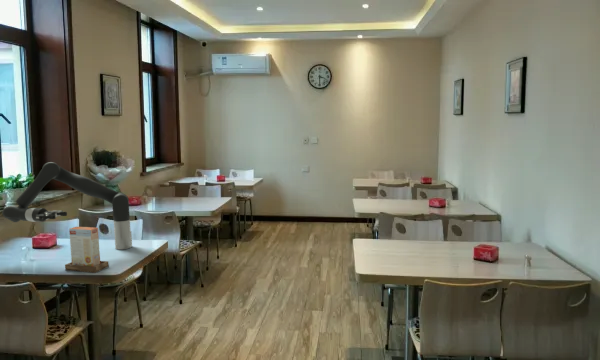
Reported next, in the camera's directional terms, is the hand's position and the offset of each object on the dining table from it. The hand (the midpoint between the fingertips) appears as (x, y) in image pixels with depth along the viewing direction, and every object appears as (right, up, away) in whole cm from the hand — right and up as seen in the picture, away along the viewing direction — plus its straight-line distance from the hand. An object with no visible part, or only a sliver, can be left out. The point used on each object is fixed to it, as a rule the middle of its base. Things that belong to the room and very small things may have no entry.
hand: (60, 215), depth 273 cm
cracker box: (+17, -27, -8) cm, 33 cm away
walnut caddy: (+17, -27, -8) cm, 33 cm away
